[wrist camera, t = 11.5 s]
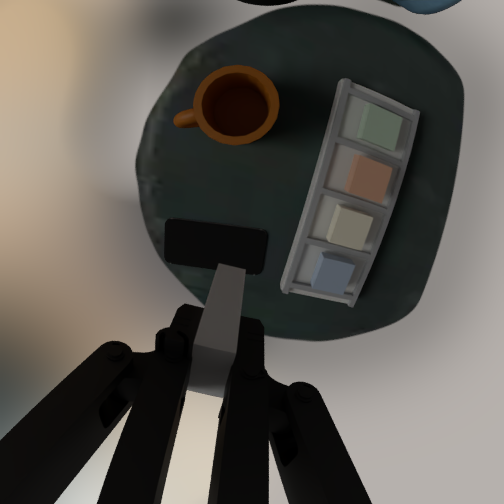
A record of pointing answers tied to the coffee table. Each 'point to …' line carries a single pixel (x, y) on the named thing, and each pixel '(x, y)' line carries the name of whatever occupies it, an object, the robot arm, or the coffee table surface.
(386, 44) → the coffee table surface
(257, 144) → the coffee table surface
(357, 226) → the key cream
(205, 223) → the smartphone
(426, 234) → the coffee table surface
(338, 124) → the keypad
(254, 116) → the mug
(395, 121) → the key sage
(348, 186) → the key terracotta
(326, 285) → the key blue
